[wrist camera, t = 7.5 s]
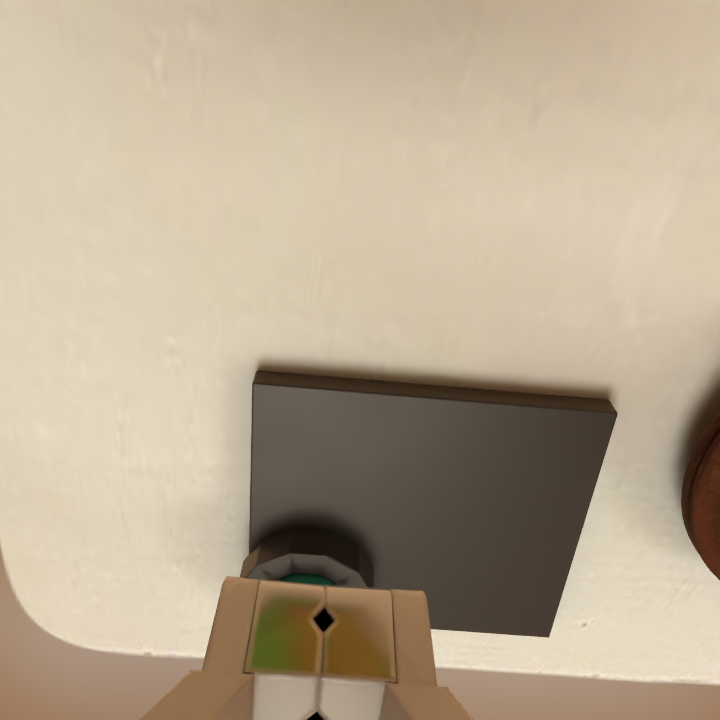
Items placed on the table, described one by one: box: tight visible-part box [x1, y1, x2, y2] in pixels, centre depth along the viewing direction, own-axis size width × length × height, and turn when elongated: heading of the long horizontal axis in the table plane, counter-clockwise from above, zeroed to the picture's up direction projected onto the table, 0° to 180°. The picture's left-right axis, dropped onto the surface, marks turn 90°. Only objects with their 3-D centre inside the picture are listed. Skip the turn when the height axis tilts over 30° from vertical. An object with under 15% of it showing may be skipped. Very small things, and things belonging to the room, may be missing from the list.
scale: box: [240, 371, 617, 637], centre depth 32 cm, size 16×14×3 cm
